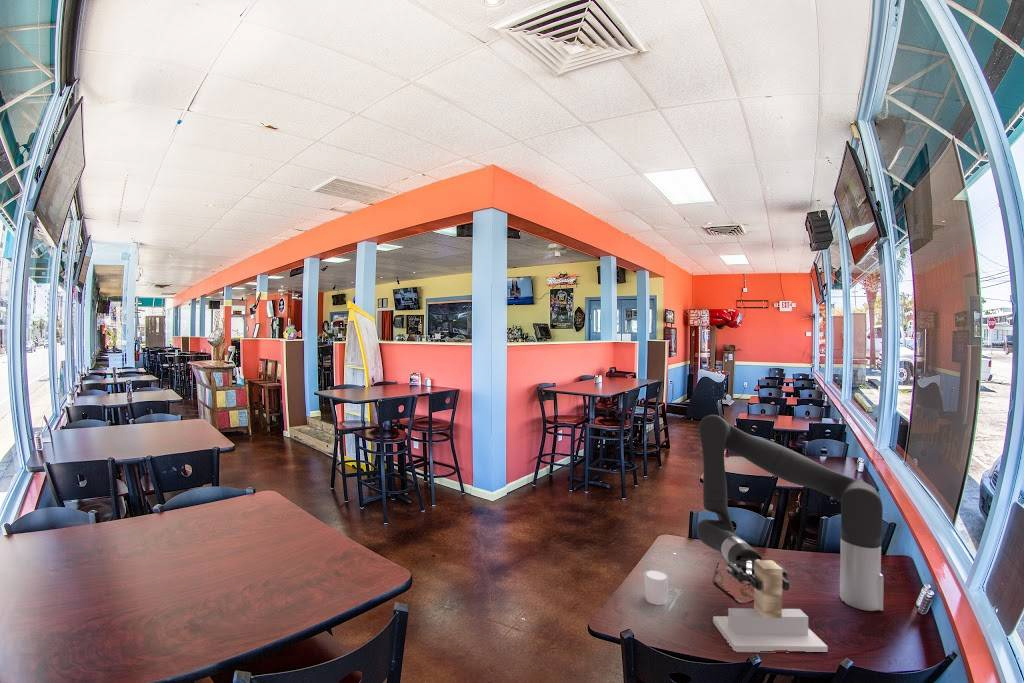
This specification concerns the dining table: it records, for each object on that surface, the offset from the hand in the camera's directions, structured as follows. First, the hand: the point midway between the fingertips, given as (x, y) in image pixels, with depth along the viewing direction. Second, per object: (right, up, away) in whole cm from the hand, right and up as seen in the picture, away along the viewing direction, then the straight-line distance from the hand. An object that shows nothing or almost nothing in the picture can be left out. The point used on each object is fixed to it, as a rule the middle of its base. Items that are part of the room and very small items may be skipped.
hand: (773, 586), depth 117 cm
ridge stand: (0, -14, +3) cm, 14 cm away
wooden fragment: (+3, -14, +30) cm, 33 cm away
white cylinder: (-23, -14, +19) cm, 33 cm away
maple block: (0, -8, +2) cm, 8 cm away
